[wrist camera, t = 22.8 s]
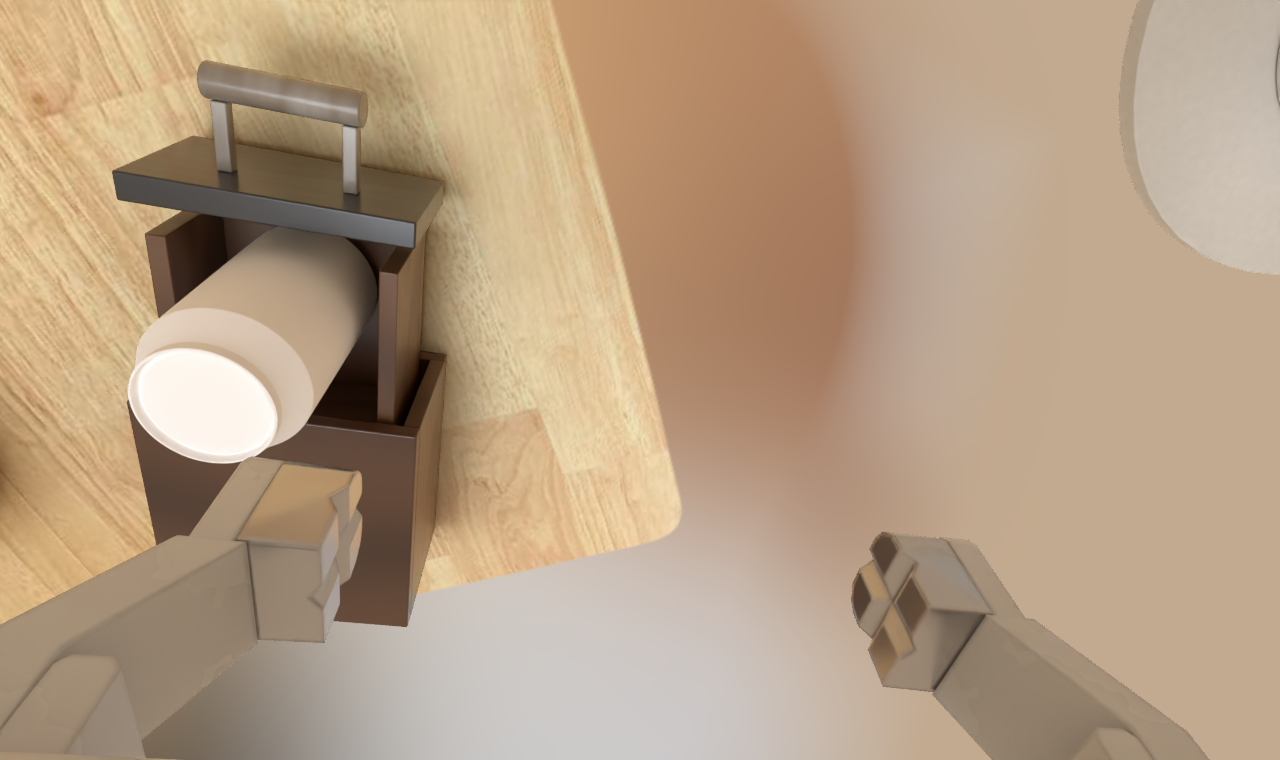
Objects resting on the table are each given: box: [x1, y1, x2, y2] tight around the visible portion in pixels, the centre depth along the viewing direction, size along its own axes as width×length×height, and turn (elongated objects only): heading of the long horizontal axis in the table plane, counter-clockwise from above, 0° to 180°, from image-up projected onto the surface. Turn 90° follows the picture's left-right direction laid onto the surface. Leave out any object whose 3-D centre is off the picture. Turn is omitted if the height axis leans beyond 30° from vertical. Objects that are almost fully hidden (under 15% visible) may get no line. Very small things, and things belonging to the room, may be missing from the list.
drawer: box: [112, 60, 444, 426], centre depth 32 cm, size 17×11×6 cm
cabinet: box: [127, 351, 447, 627], centre depth 38 cm, size 14×13×8 cm
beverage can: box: [128, 227, 377, 463], centre depth 29 cm, size 6×6×12 cm
